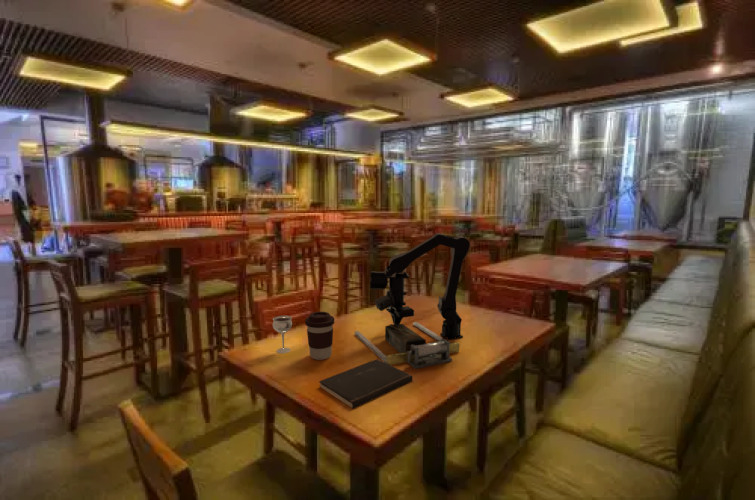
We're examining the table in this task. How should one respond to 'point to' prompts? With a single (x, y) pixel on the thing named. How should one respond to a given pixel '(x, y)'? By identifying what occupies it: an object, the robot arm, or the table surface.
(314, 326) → the coffee cup
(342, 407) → the table surface
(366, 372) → the hardcover book
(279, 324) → the wineglass
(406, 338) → the beverage carton
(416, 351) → the winch
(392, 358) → the bay
